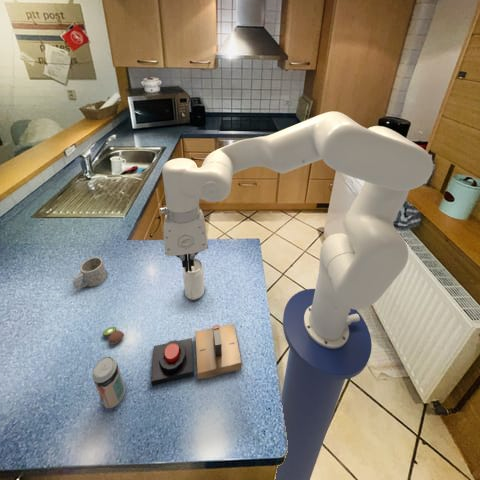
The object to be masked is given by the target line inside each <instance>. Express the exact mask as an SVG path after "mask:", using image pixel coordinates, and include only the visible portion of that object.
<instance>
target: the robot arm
mask: <svg viewBox="0 0 480 480" xmlns="http://www.w3.org/2000/svg"><path fill="white" fill-rule="evenodd" d="M319 161H323V163H324V164H325V165H327V166H328V168H331V169H332V170H333V171H336V172H337V173H339V174H342V175H345V176H348V177H351V178H353V179H357V180H360V181H363V184H362V187H361V188H360V190H359V192H358V194H357V196H356V198H355V199H354V201H353V202H352V204H351V205H350V207H349V208H348V210H347V212H346V214H345V216H344V217H343V221H342V226H343V230H344V233H341V232H338V233H332V234H330V235H328V236H327V237H326V238H325V239H324V240H323V242H322V243H321V247H320V251H319V265H318V267H319V268H318V274H317V279H316V280H317V281H316V284H315V288H314V289H315V293H314V298H313V303H312V305H311V306H309V307H308V308H307V310H306V311H305V314H304V326H305V329H306V331H307V333H308V334H309V336H310V337H311V338H312V339H313V340H314V341H315V342H316V343H318V344H319V345H321V346H323V347H326V348H331V349H335V348H340V347H342V346H343V345H344V344H345V343H346V342H347V339H348V336H349V327H348V325H350V324H351V322H357V321H360V317H359V315H358V314H352V315H349V316H348V314H349V313H350V312H351V311H350V309H354V310H357V311H359V310H360V311H361V310H364V309H367V308H370V307H371V306H373V305H374V304H375V303H376V302H377V301H379V299H380V298H381V297H382V296H383V295H384V294H385V293H386V291H387V290H388V289H389V288H390V286H391V285H392V284H393V283H394V281H396V279H397V278H398V277H399V275H400V274H401V273H402V271H404V269H405V267H406V265H407V262H408V260H409V248H408V245H407V243H406V241H405V239H404V238H403V237H402V235H401V233H399V231H398V230H397V229H396V228H395V225H394V224H395V223H394V222H395V220H396V218H397V216H398V214H399V213H400V211H401V209H402V207H403V206H404V205H405V202H406V200H407V198H408V196H409V193H410V191H411V190H412V191H413V190H415V189H418V188H420V187H422V186H423V185H424V184H426V183H427V182H428V180H429V179H430V178H431V176H432V174H433V171H434V163H433V162H434V161H433V159H432V157H431V155H430V153H429V152H428V150H426V149H424V148H423V147H422V146H420V145H418V144H417V143H415V142H413V141H411V140H410V139H408V138H407V137H405V136H403V135H402V134H400V133H399V132H397V131H395V130H393V129H391V128H389V127H386V126H382V125H381V126H380V125H374V126H373V125H372V126H370V127H365V126H363V125H361V124H359V123H358V122H356V121H355V120H354V119H352V118H351V117H350V116H348V115H346V114H344V113H343V112H340V111H335V110H334V111H332V110H331V111H326V112H324V113H321V114H318V115H316V116H313V117H310V118H308V119H305V120H303V121H301V122H299V123H296V124H294V125H291V126H289V127H286V128H284V129H281V130H279V131H276V132H273V133H271V134H268V135H264V136H257V137H250V138H244V139H241V140H238V141H234V142H231V143H229V144H226V145H225V146H222V147H220V148H218V149H216V150H213V151H212V152H210V153H209V154H208V155H206V157H205V158H204V160H203V161H202V164H201V166H200V167H198V165H197V163H196V162H195V161H194V160H193V159H190V158H186V157H178V158H173V159H170V160H168V161H166V162H165V163H164V164H163V165H162V169H161V172H162V182H163V191H164V198H165V206H163V207H160V208H159V213H160V215H162V214H164V215H165V216H164V219H163V244H164V255H166V256H169V257H176V258H178V259H179V260H180V261H181V265H182V268H184V267H185V271H186V272H188V266H189V271H192V266H194V259H196V256H198V254H199V253H202V252H204V251H206V250H208V249H209V243H208V233H207V225H206V219H205V216H204V213H203V210H202V209H201V207H200V206H201V205H200V200H202V201H206V202H210V203H218V202H222V201H224V200H225V199H227V197H229V196H230V193H231V189H232V183H233V177H234V175H235V174H236V173H239V172H241V171H245V170H247V169H251V168H257V167H258V168H259V167H260V168H266V169H268V170H271V171H273V172H276V173H278V174H286V173H289V172H292V171H294V170H297V169H300V168H302V167H305V166H307V165H310V164H313V163H316V162H319Z"/></svg>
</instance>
